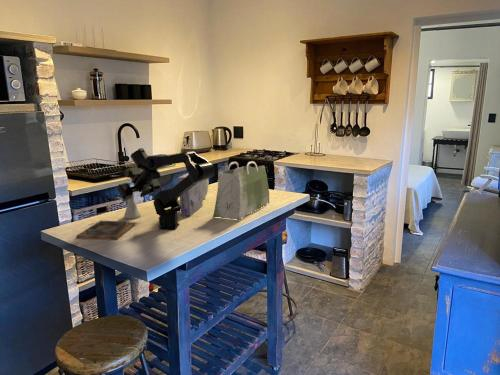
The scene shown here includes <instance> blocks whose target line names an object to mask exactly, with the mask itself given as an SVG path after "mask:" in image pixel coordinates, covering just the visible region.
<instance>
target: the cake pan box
mask: <svg viewBox="0 0 500 375" xmlns="http://www.w3.org/2000/svg"><path fill="white" fill-rule="evenodd" d="M187 176H188V172H187V173H185V174H182V175H180V176H179V177H177V180H178V181H177V182H178V183H179V182H180V181H182V180H183V179H184V178H185V177H187ZM178 183H177V184H178ZM203 202H204V200H203V199H202V184H201V182H198V183H197V184H196V185H194V186H193V187H192V188H190V189H189V190H188V191H187V192H185V193H184V194H183V195H181V196H180V197H179V205H180V206H181V209H180V216H184V217H185V216H186V217H191V216H192V215H193V214H194V213H196V212H197V211H199V209H201V207H203V206H204V204H203Z"/></svg>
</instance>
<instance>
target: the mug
mask: <svg viewBox="0 0 500 375" xmlns="http://www.w3.org/2000/svg"><path fill="white" fill-rule="evenodd" d="M201 184H202V200H203V199H205V198H206V196H207V195H208V193H209V186H210V185H209V179H206V180H204V181H201Z"/></svg>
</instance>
